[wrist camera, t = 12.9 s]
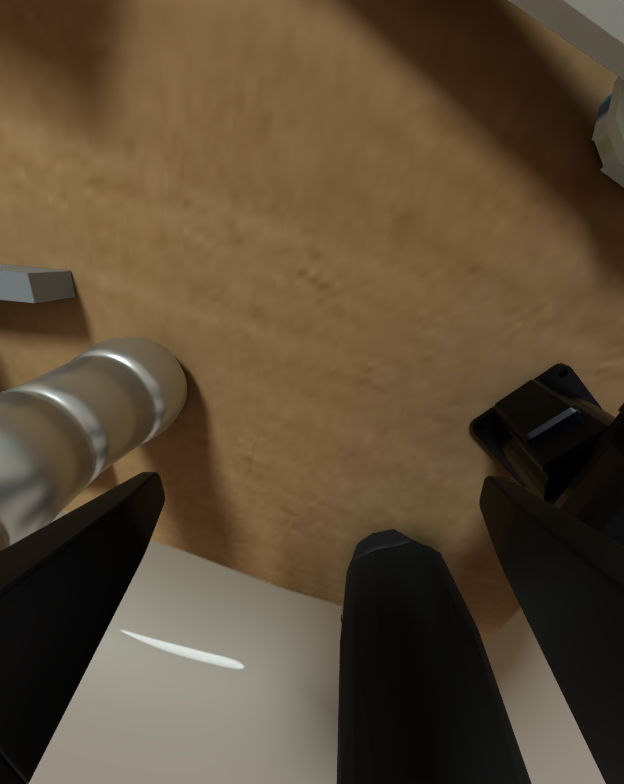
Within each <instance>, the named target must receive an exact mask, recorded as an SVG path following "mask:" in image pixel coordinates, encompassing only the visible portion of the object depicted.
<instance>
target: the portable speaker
mask: <svg viewBox="0 0 624 784" xmlns="http://www.w3.org/2000/svg"><path fill="white" fill-rule="evenodd" d="M341 616H342V615H341ZM341 622H342V630H341V639H340V674H339V715H338V757H337V784H531V781H530V778H529V775H528V772H527V769H526V767H525V764H524V761H523V758H522V755H521V752H520V750H519V746H518V743H517V741H516V738H515V735H514V732H513V729H512V726H511V723H510V720H509V717H508V715H507V712H506V709H505V706H504V703H503V700H502V697H501V694H500V692H499V688H498V686H497V683H496V680H495V677H494V674H493V671H492V668H491V666H490V663H489V660H488V657H487V654H486V651H485V648H484V645H483V642H482V639H481V636H480V634H479V631H478V628H477V626H476V624H475V622H474V620H473V618H472V616H471V614H470V612H469V610H468V608H467V606H466V604H465V602H464V600H463V598H462V596H461V594H460V592H459V590H458V587H457V585H456V583H455V581H454V579H453V577H452V575H451V573H450V571H449V569H448V567H447V565H446V563H445V561H444V560H443V558H442V556H441V554H440V552H439V553H438V552H436V551H435V550H433V549H432V548H431V547H428V546H425V545H423V544H420V543H418V542H416V541H414V540H412V539H410V538H408V537H406V536H404V535H403V534H401V533H399V532H398V531H396V530H394V529H392V530H388V531H383V532H378V533H373V534H371V535H370V536H368V537H367V538H365V539H364V540H363V541H361V542H360V543H358V544H357V546H356V549H355V552H354V555H353V558H352V561H351V563H350V565H349V568H348V570H347V576H346V586H345V597H344V607H343V619H342V617H341Z"/></svg>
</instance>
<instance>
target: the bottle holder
mask: <svg viewBox="0 0 624 784" xmlns="http://www.w3.org/2000/svg"><path fill="white" fill-rule="evenodd" d="M74 297H75V292H74V286H73V281H72V276H71V271H65V270H55V269H45V268H35V267H24V266H14V265H4V264H0V300H8V301H18V302H27V303H40V302H47V301H54V300H60V299H67V298H74Z"/></svg>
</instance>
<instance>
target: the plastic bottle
mask: <svg viewBox="0 0 624 784" xmlns="http://www.w3.org/2000/svg"><path fill="white" fill-rule="evenodd" d="M186 398H187V381H186V378H185V374H184V372H183V370H182V368H181V366H180V364H179V362H178V361H177V360H176V358H175V357H174V356H173V355H172V354H171V353H170V352H169V351H168V350H167V349H165V348H164V347H163V346H161V345H160V344H158V343H156V342H154V341H152V340H149V339H145V338H142V337H124V338H114V339H108V340H105V341H103V342H100V343H98V344H96V345H95V346H93V347H91V348H89V349H87V350H86V351H84V352H83V353H81V354H80V355H79V356H77V357H76V358H74V359H73V360H72V361H70V362H69V363H67V364H65V365H62V366H60V367H58V368H56V369H54V370H52V371H50V372H48V373H46V374H44V375H42V376H40V377H38V378H36V379H34V380H32V381H30V382H28V383H26V384H23V385H20V386H17V387H13V388H10V389H8V390H5V391H3V392H0V551H1V550H3V549H5V548H6V547H8V546H10V545H12V544H14V543H15V542H17V541H19V540H21V539H23V538H24V537H26V536H28V535H30V534H32V533H33V532H35V531H37V530H39V529H41V528H43V527H44V526H46V525H48V524H50V523H51V522H52V521H53V520H54V519H55V518H56V516H57V515H58V514H59V513H60V512H61V511H62V510H63V509H64V508H65V507H66V506H67V505H68V504H69V503H70V502H71V501H72V500H73V499H74V498H75V497H77V496H78V495H79V494H80V493H81V492H82V491H83V490H84V489H85V487H87V486H88V485H89V484H90V483H91V482H92V481H93V480H94V479H95V478H96V477H97V476H98V475H99V474H100V473H102V472H103V471H104V470H106V469H107V468H108V467H110V466H111V465H113V464H114V463H115V462H117V461H118V460H119V459H121V458H122V457H124V456H125V455H126V454H128V453H129V452H130V451H132V450H133V449H135V448H136V447H137V446H140V445H142V444H144V443H146V442H148V441H149V440H151V439H153V438H154V437H156V436H157V435H159V434H161V433H162V432H164V431H165V430H167V429H168V428H169V427H170V426H171V425H172V424H173V422H174V421H175V419H176V418H177V416H178V415H179V413H180V412H181V410H182V408H183V407H184V404H185V402H186Z"/></svg>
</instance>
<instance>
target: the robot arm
mask: <svg viewBox="0 0 624 784" xmlns="http://www.w3.org/2000/svg"><path fill="white" fill-rule="evenodd" d="M563 369H564V371H563V373H562V374H561V375H558V373H559V372H560V371H561V370H563ZM618 411H619V412H620V413H619V414H618V416H617V417H616V418H615V417H614V416H612V415H610V414H609V413H607V412H605V411H604V410H603V409H602V408H601V407H600V405H599V404H598V403H597V401H596V400H595V399H594V397H593V396H592V395H591V393H590V392H589V391H588V389H587V388H586V387H585V386H584V384H583V383H582V382H581V380H580V379H579V378H578V376H577V375H576V374H575V372H574V371H573V370H572V368H571V367H569V366H568V365H566V364H562V363H560V364H557V365H554V366H553V367H551V368H550V369H548V370H547V371H546V372H544V373H543V374H541V375H540V376H538V377H537V378H535V379H534V380H530V381H528V382H527V383H525V384H524V385H523V386H521V387H520V388H518V389H517V390H515V391H514V392H512V393H511V394H509V395H508V396H506V397H505V398H503V399H502V400H500V401H499V402H497V403H496V404H495V406H493V407H492V408H490V409H489V410H487V411H486V412H484V413H483V414H482V415H480V416H479V417H477V418H476V419H474V420H473V421H472V422H471V424H470V427H471V429H472V430H473V432H474V433H475V434H476V435H477V436H478V437H479V439H480V440H481V441H482V442H483V443H484V444H485V445H486V446H487V448H488V449H489V450H490V451H491V452H492V453H493V454H494V455H495V457H496V458H497V459H498V460H499V461H500V462H501V463H502V464H503V465H504V467H505V468H506V469H507V470H508V471H509V472H510V473H511V474H512V476H513V477H514V478H515V479H516V480H517V481H518V482H519V483H520V485H521V486H523V487H526V488H527V487H528V488H529V489H530V491H531V492H532V493H531V492H529V491H528V490H526V489H524V488H522V487H521V486H519V485H517V484H516V483H514V482H512V481H510V480H509V479H507V478H505V477H503V476H487V477H486V478H485V480H484V483H483V488H482V492H481V496H480V509H481V512H482V515H483V517H484V520H485V523H486V526H487V529H488V531H489V534H490V537H491V540H492V542H493V545H494V548H495V551H496V554H497V556H498V559H499V561H500V564H501V566H502V568H503V570H504V573H505V575H506V577H507V579H508V581H509V583H510V585H511V587H512V589H513V591H514V593H515V596H516V598H517V600H518V602H519V604H520V606H521V608H522V610H523V612H524V614H525V616H526V618H527V620H528V623H529V625H530V627H531V629H532V631H533V633H534V635H535V637H536V639H537V641H538V643H539V645H540V647H541V650H542V652H543V653H544V656H545V658H546V660H547V662H548V664H549V666H550V668H551V670H552V672H553V674H554V677H555V679H556V681H557V683H558V685H559V687H560V689H561V691H562V693H563V695H564V697H565V699H566V702H567V704H568V706H569V708H570V710H571V712H572V714H573V716H574V718H575V720H576V722H577V724H578V726H579V729H580V731H581V733H582V735H583V737H584V739H585V741H586V743H587V745H588V747H589V749H590V751H591V754H592V756H593V758H594V760H595V762H596V764H597V766H598V768H599V770H600V772H601V774H602V776H603V778H604V781H605V783H606V784H624V403H623V405H622V406H621V407H620V409H619V410H618ZM480 424H482V427H480V428H477V426H478V425H480ZM164 502H165V493H164V489H163V485H162V481H161V477H160V475H159V473H157V472H142V473H140V474H138V475H136V476H135V477H133V478H131V479H129V480H127V481H126V482H124V483H122V484H120V485H118V486H117V487H115V488H113V489H111V490H109V491H108V492H106V493H104V494H102V495H100V496H98V497H97V498H95V499H93V500H91V501H89V502H88V503H86V504H84V505H82V506H80V507H79V508H77V509H75V510H73V511H71V512H70V513H68V514H66V515H64V516H62V517H61V518H59V519H57V520H55V521H53V522H52V523H50V524H48V525H46V526H44V527H43V528H41V529H39V530H37V531H35V532H33V533H32V534H30V535H28V536H26V537H24V538H23V539H21V540H19V541H17V542H15V543H14V544H12V545H10V546H8V547H6V548H5V549H3V550H1V551H0V784H28V783H29V782H30V780H31V778H32V776H33V774H34V772H35V769H36V768H37V766H38V764H39V762H40V760H41V758H42V756H43V754H44V752H45V750H46V748H47V746H48V744H49V742H50V740H51V738H52V736H53V734H54V732H55V730H56V728H57V726H58V724H59V722H60V720H61V719H62V716H63V715H64V713H65V711H66V708H67V707H68V705H69V703H70V700H71V699H72V697H73V695H74V693H75V691H76V689H77V687H78V685H79V683H80V681H81V679H82V677H83V675H84V673H85V671H86V669H87V667H88V665H89V663H90V661H91V659H92V657H93V655H94V653H95V651H96V649H97V647H98V645H99V643H100V641H101V639H102V637H103V636H104V634H105V632H106V630H107V627H108V625H109V624H110V622H111V620H112V618H113V616H114V614H115V611H116V610H117V608H118V606H119V604H120V602H121V600H122V598H123V596H124V594H125V592H126V590H127V588H128V586H129V584H130V582H131V580H132V578H133V576H134V574H135V572H136V570H137V568H138V566H139V564H140V562H141V560H142V558H143V556H144V554H145V552H146V549H147V546H148V544H149V542H150V539H151V536H152V534H153V531H154V529H155V526H156V523H157V521H158V518H159V516H160V513H161V510H162V508H163V505H164Z"/></svg>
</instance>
